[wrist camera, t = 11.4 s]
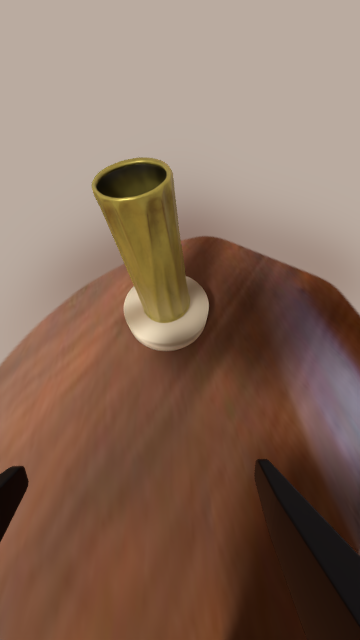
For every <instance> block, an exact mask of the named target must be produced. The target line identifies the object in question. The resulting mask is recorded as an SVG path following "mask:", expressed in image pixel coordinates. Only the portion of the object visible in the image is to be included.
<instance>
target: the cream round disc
mask: <svg viewBox="0 0 360 640" xmlns="http://www.w3.org/2000/svg"><path fill="white" fill-rule="evenodd" d="M186 282H187V287H188V293H189V295H190V306H189V309H188V310H187V312H186V313H185V314H184V316H182V317H181V318H179V319H178V320H176V321H173V322H170V323H159V322H155V321H153V320H151V319H150V318H149V317H148V316H147V315H146V314H145V313H144V311H143V306H142V304H141V301H140V299H139V296H138V294H137V291H136V289H135V287H133V288H132V289H131V290H130V291H129V293H128V295H127V297H126V299H125V303H124V315H125V319H126V321H127V324H128V326H129V328H130V330H131V332H132V333H133V335H134V336H135V338H136V339H137V340H138V341H139V342H140V343H142V344H143V345H145V346H147V347H149V348H151V349H154V350H159V351H174V350H178V349H182V348H184V347H186V346H188V345H190V344H191V343H193V342H194V341H195V340H196V339H197V338H198V337H199V336H200V335H201V333H202V331H203V329H204V327H205V324H206V320H207V316H208V310H209V302H208V298H207V295H206V293H205V291H204V290H203V288H202V287H201V286H200V285H199V284H198V283H197V282H196V281H194V280H193V279H191V278H189V277H187V276H186Z"/></svg>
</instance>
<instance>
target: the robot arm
mask: <svg viewBox="0 0 360 640" xmlns="http://www.w3.org/2000/svg"><path fill="white" fill-rule="evenodd" d="M255 482H256V486H257V490H258V493H259V497H260V501H261V504H262V508H263V512H264V515H265V519H266V523H267V526H268V530H269V533H270V537H271V540H272V543H273V546H274V549H275V551H276V554H277V557H278V560H279V562H280V565H281V568H282V571H283V574H284V576H285V579H286V582H287V585H288V588H289V590H290V593H291V596H292V599H293V602H294V604H295V607H296V610H297V613H298V616H299V618H300V621H301V624H302V627H303V629H304V632H305V635H306V638H307V640H360V556H359V555H358V554H357V553H356V552H355V551H354V550H353V549H352V548H351V547H350V545H349V544H348V543H347V542H346V541H345V540H344V539H343V538H342V537H341V536H340V535H339V534H338V533H337V532H336V531H335V530H334V529H333V528H332V527H331V525H330V524H329V523H328V522H327V521H326V520H325V519H324V518H323V517H322V516H321V515H320V514H319V513H318V512H317V511H316V510H315V509H314V508H313V507H312V506H311V504H310V503H309V502H308V501H307V500H306V499H305V498H304V497H303V496H302V495H301V494H300V493H299V492H298V491H297V490H296V489H295V488H294V487H293V486H292V484H291V483H290V482H289V481H288V480H287V479H286V478H285V477H284V476H283V475H282V474H281V473H280V472H279V471H278V470H277V469H276V468H275V467H274V466H273V465H272V463H271V462H270V461H269V460H267V459H257V460H256V465H255ZM27 487H28V478H27V474H26V471H25V468H24V467H23V466H12V467H10V468H8V469H7V470H5V471H4V472H3V473H1V474H0V542H1V540H2V538H3V536H4V534H5V532H6V530H7V528H8V526H9V524H10V522H11V520H12V518H13V516H14V514H15V512H16V510H17V508H18V506H19V504H20V502H21V500H22V498H23V496H24V494H25V492H26V489H27Z"/></svg>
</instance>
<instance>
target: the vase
mask: <svg viewBox="0 0 360 640" xmlns="http://www.w3.org/2000/svg"><path fill="white" fill-rule="evenodd" d="M92 190H93V193H94V196H95V198H96V200H97V201H98V204H99V206H100V208H101V210H102V212H103V215H104V217H105V219H106V221H107V224H108V226H109V228H110V231H111V233H112V236H113V238H114V240H115V242H116V245H117V247H118V249H119V251H120V254H121V256H122V259H123V261H124V263H125V266H126V268H127V270H128V273H129V275H130V278H131V280H132V282H133V285H134V287H135V289H136V291H137V294H138V296H139V299H140V301H141V304H142V306H143V311H144V313H145V314H146V315H147V316H148V317H149V318H150V319H151V320H153V321H155V322H159V323H170V322H173V321H176V320H178V319H179V318H181V317H182V316H184V314H185V313H186V312H187V310H188V309H189V306H190V295H189V293H188V287H187V282H186V275H185V267H184V259H183V253H182V247H181V240H180V233H179V226H178V216H177V207H176V199H175V191H174V180H173V173H172V170H171V169H170V167H169V166H168V165H167V164H166V163H165V162H163V161H161V160H158V159H153V158H133V159H128V160H124V161H120V162H118V163H115V164H113V165H110V166H108V167H106V168H105V169H103V170H102V171H100V172H99V173H98V174H97V175H96V176H95V178H94V180H93V182H92Z"/></svg>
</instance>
